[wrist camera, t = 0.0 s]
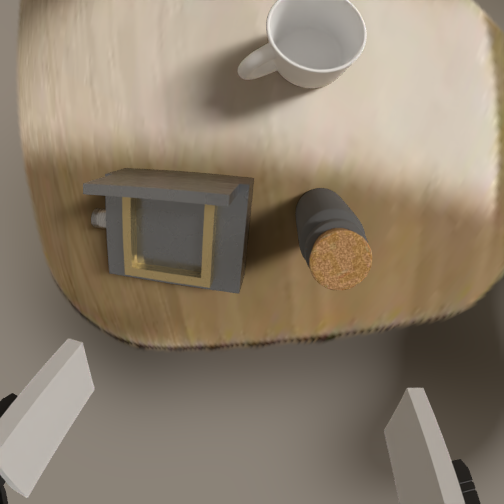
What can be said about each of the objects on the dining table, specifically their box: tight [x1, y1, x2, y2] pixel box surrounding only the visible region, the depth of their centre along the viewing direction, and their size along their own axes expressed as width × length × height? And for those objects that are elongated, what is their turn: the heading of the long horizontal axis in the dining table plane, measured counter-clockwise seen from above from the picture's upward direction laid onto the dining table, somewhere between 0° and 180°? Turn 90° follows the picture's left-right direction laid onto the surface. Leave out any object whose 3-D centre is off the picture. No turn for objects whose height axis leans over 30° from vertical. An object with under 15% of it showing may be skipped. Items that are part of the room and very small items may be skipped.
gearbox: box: [83, 168, 254, 293], centre depth 34 cm, size 12×19×11 cm, turn 84°
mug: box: [238, 0, 367, 88], centre depth 26 cm, size 12×8×10 cm
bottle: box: [296, 188, 372, 290], centre depth 30 cm, size 6×6×15 cm
